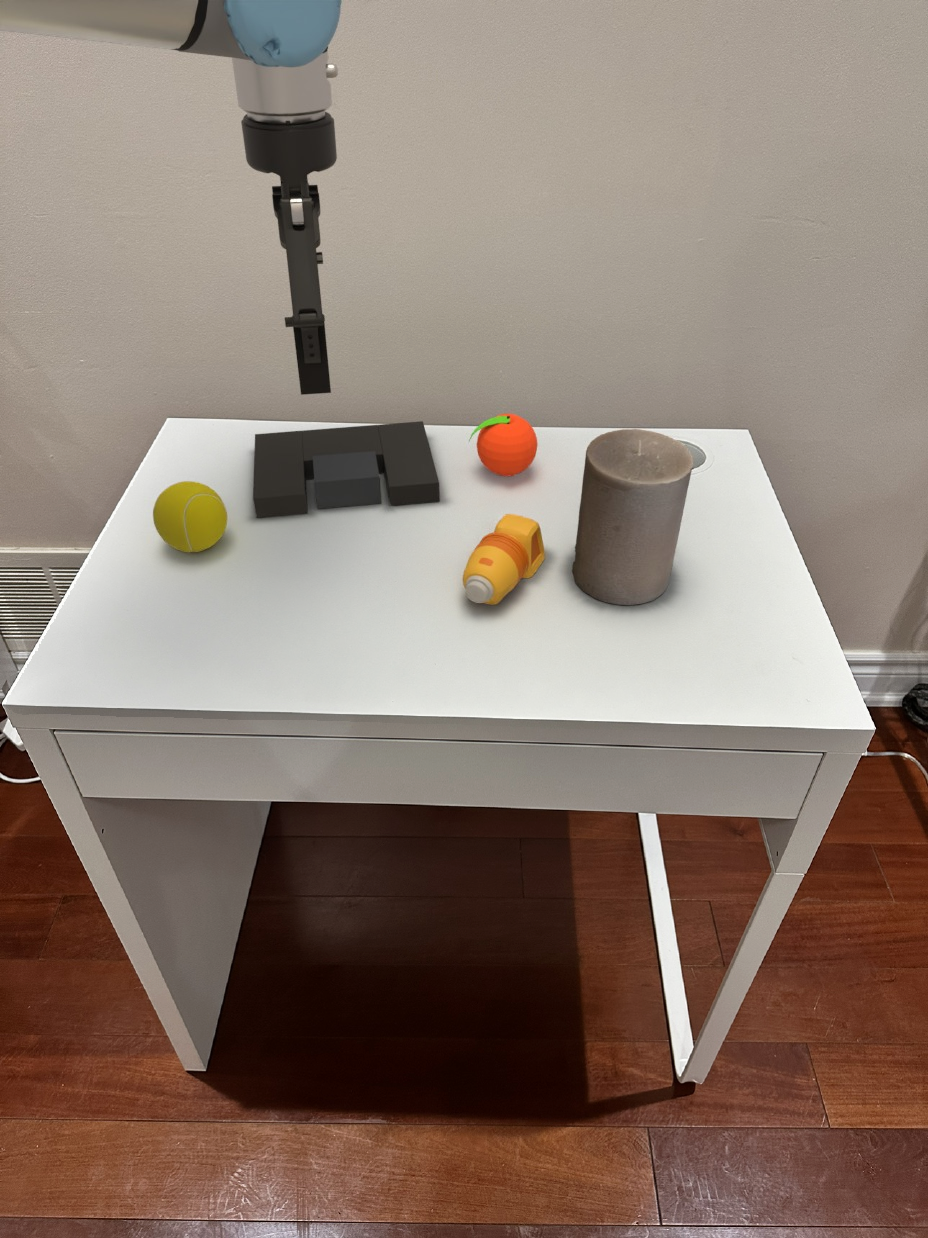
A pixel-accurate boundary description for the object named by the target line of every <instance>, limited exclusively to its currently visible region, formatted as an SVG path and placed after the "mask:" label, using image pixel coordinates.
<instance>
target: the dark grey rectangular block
mask: <svg viewBox="0 0 928 1238" xmlns="http://www.w3.org/2000/svg"><path fill="white" fill-rule="evenodd" d="M313 470H314V479H313V482H314V483H313V484H314V490H315V499H316V507H317V510H321V509H333V508H345V507H357V506H367V505H379V504H382V492H381V491H382V489H381V480H380V478H381V477H380V473H379V471H378V465H377V459H376V453H375V451H371V452H358V453H346V454H333V455H321V456H313Z"/></svg>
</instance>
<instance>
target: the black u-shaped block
mask: <svg viewBox="0 0 928 1238" xmlns="http://www.w3.org/2000/svg"><path fill="white" fill-rule="evenodd" d="M427 435H428V434H427V432H426V428H425V424H424V421H421V420H419V421H409V422H396V423H383V424H368V425H358V426H355V425H354V426H345V427H344V426H343V427H331V428H317V429H306V430H305V429H304V430H291V431H279V432H278V431H277V432H267V433H266V432H265V433H257V434H256V433H255V434H254V455H253V457H254V458H253V462H254V463H253V491H252V500H253V506H254V511H255V517H256V518H257V519H260V518H261V519H262V518H271V517H282V516H283V517H284V516H294V515H303V514H304V515H305V514H309V513H308V512H309V510H308V489H307V480H314V470H313V456H321V455H333V454H346V453H358V452H371V451H375V453H376V459H377V465H378V471H379V474H384V479H385V485H386V491H387V497H388V502H389V506H390V507H394V506H404V505H415V504H426V503H427V504H428V503H438V502H440V480H439V477H438V473H437V470H436V466H435V462H434V458H433V455H432V451H431V446H430V443H429V439H428V436H427Z"/></svg>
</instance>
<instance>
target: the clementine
mask: <svg viewBox="0 0 928 1238" xmlns="http://www.w3.org/2000/svg"><path fill="white" fill-rule="evenodd" d="M478 431H479V432H478ZM476 433H478V436H477V440H476V452H477V456H478V458H479V460H480V462H481V463H482V465H483V466H484V467H485V468H486V469H487V470H488V471H490V472H491V473H493V474H496V475H498V476H503V477H512V476H515V475H519V474H520V473H523V472H524V471H526V469H528V468H529V467H530V466H531V464H532V463H533V461H534V460H535V457H536V455H537V450H538V438H537V434H536V432H535V429H534V428H533V427H532V425H531V424H530V423H529V422H528V421H527V420H526V419H525V418H522V417H521V416H520V415H518V414H517V415H516V414H513V413H501V414H498V415H496V416H494V417H491V418H488V419H487V420H485V421H483V422H481V423H480V424H479V425H478V426H477V427H476V428H475V429H474V430H473V431H472V433H471V434H470V437H469V439H468V442H470V441H471V439H472V437H473V436H474V435H475V434H476Z"/></svg>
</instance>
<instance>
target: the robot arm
mask: <svg viewBox="0 0 928 1238" xmlns="http://www.w3.org/2000/svg"><path fill="white" fill-rule="evenodd" d="M341 6H342V0H0V32H8V33H17V34H27V35H36V36H45V37H54V38H55V37H56V38H63V39H70V40H71V39H73V40H82V41H91V42H98V43H108V44H117V45H124V46H125V45H126V46H134V47H143V48H144V47H145V48H152V49H161V50H170V51H177V52H180V53H187V54H197V55H206V56H215V57H223V58H231V62H232V69H233V76H234V83H235V91H236V97H237V104H238V107H239V108H240V109H241V110H243V112H244V113H246V114H244V116H243V118H242V119H241V120H240V121H241V129H242V138H243V146H244V152H245V159H246V160H245V161H246V163H247V165H248V166H249V167H250V168H251V169H253V170H255V171H257V172H259V173H260V172H261V173H263V174H275V175H277V176H279V180H280V185H272V186H271V191H272V194H271V198H272V207H273V214H274V217H275V218H276V219H277V226H278V237H279V244H280V246H281V247H282V249H284V250H285V254H286V261H287V270H288V271H287V272H288V281H289V290H290V300H291V310H292V316H286V317H285V316H284V326H285V328H292V329H293V337H294V338H293V339H294V348H295V355H296V356H295V357H296V364H297V371H298V381H299V387H300V388H299V389H300V395H301V396H302V395H317V394H318V395H320V394H331V393H332V390H331V377H330V369H329V368H330V366H329V358H328V357H329V356H328V345H327V336H326V335H327V334H326V325H325V324H326V323H325V322H326V318H325V314H323V305H322V304H323V303H322V297H321V295H322V294H321V285H320V275H319V265H324V255H323V251H317V248H319V247H320V245H321V229H320V221H319V217H320V216H321V202H320V193H319V186H318V184H310V183H309V179H308V175H310V174H311V173H313V172H317V173H320V172H323V171H326V170H328V169H330V168H332V167H333V166H334V165H335V164H336V162H337V159H338V154H337V141H336V128H335V127H336V126H335V119H334V117H332V115H331V114H330V113H329V112H327V110H329V109H330V108H331V107H332V105H333V98H332V84H331V82H330V81H329V79H334V78H337V77H338V76H339V70H338V69H339V68H338V66H337V64H335V63H333V62H332V63H328V61H329V58H330V56H329V51H328V49H329V45H330V43H331V42H332V40H333V38H334V36H335V35H336V34H335V33H336V32H337V29H338V25H339V23H340V17H341Z"/></svg>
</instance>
